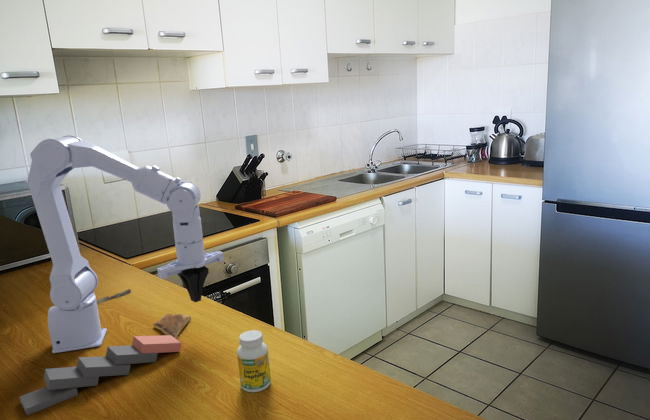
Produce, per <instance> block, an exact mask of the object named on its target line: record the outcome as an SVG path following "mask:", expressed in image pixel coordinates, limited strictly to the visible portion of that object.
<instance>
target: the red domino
mask: <svg viewBox="0 0 650 420" xmlns="http://www.w3.org/2000/svg"><path fill="white" fill-rule="evenodd" d="M131 345H133V346H134V347H135V348H136V349H137V350H138V351H140V352H141V353H142V354H143V353H158V354H159V353H162V354H163V353H176V352H178V353H180V352H181V348H182V342H181V341H179V339H178V338H177V339H175V338H174V337H173V336H171V335H165V334H164V335H134V336H133V338H132V343H131Z"/></svg>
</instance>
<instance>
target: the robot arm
mask: <svg viewBox="0 0 650 420" xmlns="http://www.w3.org/2000/svg"><path fill="white" fill-rule="evenodd" d="M29 156H30V159H31V163H30V167H29V172H28V175H27V185H28V188H29V191H30V194H31V198H32V201H33V205H34V208H35V210H36V214H37V217H38V220H39V223H40V227H41V230H42V233H43V236H44V240H45V243H46V246H47V250H48V252H49V255H50V258H51V262H52V268H51V270H50V271H51V272H50V275H49V282H50V291H49V297H50V300H51V303H52V304H53V306H50V307H49V309H48V311H47V326H48V332H49V338H50V342H51V346H52V350H51V353H52V354H57V353H64V352H71V351H77V350H83V349H89V348H90V349H91V348H96V347H100V346H101V345H102V343H103V341H104V339H105V336H106V333H107V331H108V330H107V328H105V327H104V328H102V325H101V321H100V313H99V309H98V305H97V302H96V301H97V298H96V293H95V290H96V288H97V287H98V283H99V280H98V279H99V278H98V275H97V273H96V272H95V271H94V270H93V269H92V268H91V266H90V264H89V260H88V259H86V258H84V257H83V256H82V255H81V252H80V248H79V245H78V242H77V238H76V234H75V232H74V228H73V224H72V221H71V218H70V215H69V212H68V208H67V204H66V201H65V198H64V194H63V191H62V188H61V183H62V182H63V181H64V180H65V178H66V177H67V175H68V174H69V173H70V172H71V171H72V170H74V169H78V168H79V169H80V168H89V167H92V168H96V169H97V170H101V171H102V172H105V173H108V174H111V175H112V176H115V177H118V178H120V179H123V180H125V181H128V182H130V183H131V185H132V187H133V189H134V191H135V192H137V193H139V194H142V195H144V196H146V197H148V198H150V199H152V200H154V201H157V202H159V203H161V204H163V205H166V206H167V208H168V209H169V211H171V214H172V216H171V217H172V226H173V227H172V228H173V234H174V235H173V236H174V244H175V251H176V252H175V253H176V260H174V261H171V262H170V263H168V264H166V265H163V266H161V267H157V269H156V271H157V277H158V278H159V279H161V280H165V279H167V278H168V277H171V276H174V275H176V274H177V276H178V277H179V279H180V280H181V281H182V283H183V284H184V286H185V288H186V290H187V292H188V295H189V296H188V297H189V298H190V299H189V300H190V301H192V302H193V303H198V302H200V301H202V294H203V288H204V284H205V282H206V279H207V277H208V274H209V273H210V272H209V270H210V268H209V267H208V266H207V265H210V264H214V263H217V262H220V263H221V262H224V261H225V260H224V259H225V258H224V252H222V251H220V250H215V251H212V252H207V253H205V247H204V246H205V245H204V244H205V243H204V235H203V227H202V218H201V215H200V214H201V212H200V206H199V203H200V201H201V197H202V195H201V191H200V189H199V187H198V186H197V185H195V184H194V183H193V182H191V181H190V180H184V181H182V178H180V177H179V176H177V177H176V178H175V177H174V176H171V175H169V174H166V173H165V172H162V171H160V169H161V168H160V167H159V166H157V165H152V166H149V165H144V166H142V167H138V166H136V165H134V164H132V163H130V162H128V161H127V160H124V159H123V158H120V157H119V156H118V155H117V156H116V155H115V154H113V153H111V152H109V151H107V150H105V149H104V148H101V147H100V146H98V145H96V144H94V143H92V142H91V141H89V140H85V139H81V138H80V137H78V136H76V135H72V134H70V135H69V134H68V135H65V136H64V135H63V136H61V137H54V138H47V139H43V140H41V141H40V142H39V143H38V144H37V145H36V146H35V147H34V148H33V150H32V151H31V152H30V153H29ZM206 266H207V267H206Z"/></svg>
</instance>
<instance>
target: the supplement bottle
mask: <svg viewBox="0 0 650 420" xmlns="http://www.w3.org/2000/svg"><path fill="white" fill-rule="evenodd" d="M238 339H239V340H238V341H239V346H238V348H237V351H236V356H237V357H236V358H237V362H238V363H237V364H238V365H237V366H238V373H239V381H240V383H239V384H240V387H241V389H242V390H243V391H244V392H247V393H259V392H262V391H264V390H266V389H268V387H269V386H270V385H271V383H272V380H271V378H272V377H271V368H270V367H271V366H270V357H269V348H268V345H267V344H266V343H265V342H264V338H263V332H262V331H260V330H257V329H256V330H255V329H254V330H253V329H252V330H247V331H243V332H242V333H240V335H239V337H238Z"/></svg>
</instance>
